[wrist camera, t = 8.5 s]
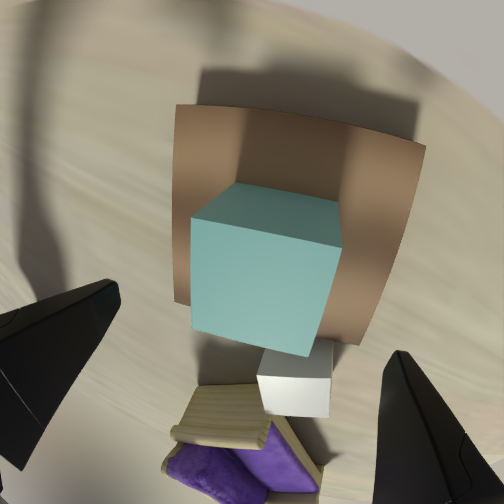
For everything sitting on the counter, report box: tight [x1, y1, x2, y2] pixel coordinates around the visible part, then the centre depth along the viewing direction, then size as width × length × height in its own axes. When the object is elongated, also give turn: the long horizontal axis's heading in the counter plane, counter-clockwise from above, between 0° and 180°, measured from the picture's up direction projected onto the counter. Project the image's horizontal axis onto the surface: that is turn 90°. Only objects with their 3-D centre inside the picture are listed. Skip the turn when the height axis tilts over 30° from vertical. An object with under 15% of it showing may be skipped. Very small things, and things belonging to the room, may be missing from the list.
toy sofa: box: [161, 383, 324, 504], centre depth 24 cm, size 21×9×10 cm, turn 22°
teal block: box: [190, 182, 342, 357], centre depth 13 cm, size 5×5×5 cm
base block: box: [172, 105, 426, 346], centre depth 16 cm, size 12×12×3 cm
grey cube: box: [257, 337, 334, 418], centre depth 19 cm, size 4×4×4 cm
